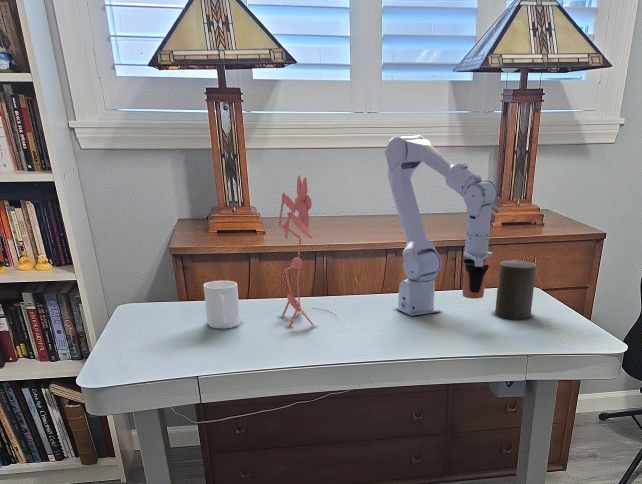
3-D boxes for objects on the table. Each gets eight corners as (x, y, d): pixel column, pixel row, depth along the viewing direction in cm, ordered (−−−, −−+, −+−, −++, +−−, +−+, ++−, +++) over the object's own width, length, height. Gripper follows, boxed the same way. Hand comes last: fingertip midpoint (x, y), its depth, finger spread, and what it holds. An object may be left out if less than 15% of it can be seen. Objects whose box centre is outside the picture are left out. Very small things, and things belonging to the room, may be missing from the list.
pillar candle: (502, 320, 187) (508, 263, 180) (490, 310, 195) (495, 255, 188) (536, 318, 189) (543, 262, 182) (522, 309, 197) (529, 254, 190)
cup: (240, 318, 184) (236, 279, 180) (241, 332, 174) (237, 291, 169) (207, 320, 183) (203, 280, 178) (207, 334, 173) (202, 292, 168)
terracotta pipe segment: (473, 299, 178) (475, 273, 175) (458, 295, 181) (459, 269, 178) (488, 296, 181) (490, 270, 177) (472, 292, 184) (474, 267, 181)
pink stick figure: (292, 337, 172) (285, 183, 155) (272, 309, 193) (264, 171, 176) (352, 332, 176) (352, 182, 159) (326, 305, 197) (323, 170, 180)
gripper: (497, 239, 167) (492, 296, 174) (490, 229, 180) (485, 282, 186) (468, 239, 167) (464, 296, 174) (462, 228, 180) (459, 282, 186)
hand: (473, 289), depth 180 cm, fingers closed on terracotta pipe segment, 5 cm apart
